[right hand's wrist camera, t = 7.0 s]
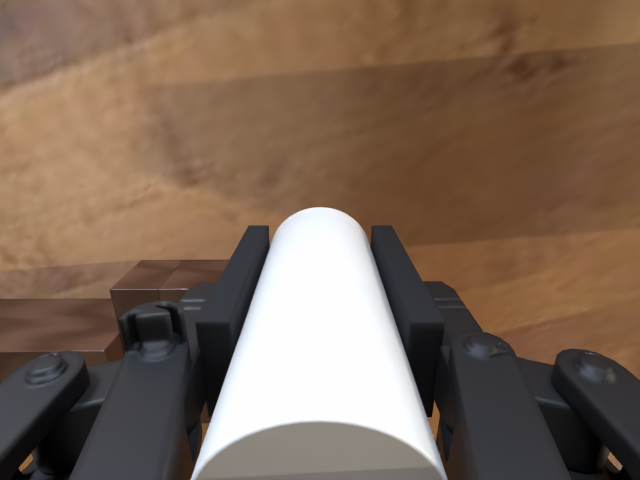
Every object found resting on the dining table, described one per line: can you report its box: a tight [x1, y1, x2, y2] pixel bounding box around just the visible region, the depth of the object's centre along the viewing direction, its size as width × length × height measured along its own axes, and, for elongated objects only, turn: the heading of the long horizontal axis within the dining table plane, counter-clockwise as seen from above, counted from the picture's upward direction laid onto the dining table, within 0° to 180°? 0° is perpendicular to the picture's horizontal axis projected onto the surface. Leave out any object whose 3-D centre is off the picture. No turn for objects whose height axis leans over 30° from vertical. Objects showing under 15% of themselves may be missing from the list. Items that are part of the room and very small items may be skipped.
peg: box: [191, 207, 448, 480], centre depth 10 cm, size 4×4×10 cm
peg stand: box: [0, 260, 229, 423], centre depth 29 cm, size 32×12×7 cm, turn 90°
